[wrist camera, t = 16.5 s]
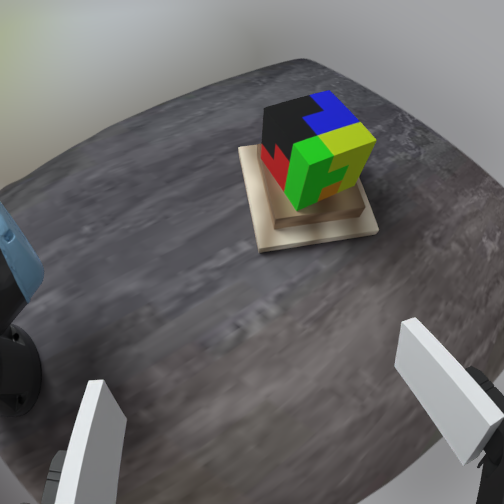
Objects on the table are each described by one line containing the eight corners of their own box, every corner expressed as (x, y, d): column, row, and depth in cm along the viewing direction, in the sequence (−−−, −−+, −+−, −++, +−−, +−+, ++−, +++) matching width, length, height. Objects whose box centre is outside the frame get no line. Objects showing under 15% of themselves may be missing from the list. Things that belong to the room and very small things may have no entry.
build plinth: (258, 252, 45) (260, 239, 40) (238, 152, 51) (238, 134, 47) (375, 234, 46) (386, 220, 42) (340, 143, 53) (346, 126, 49)
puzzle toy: (316, 138, 47) (329, 90, 38) (354, 185, 44) (376, 140, 35) (260, 158, 45) (263, 107, 36) (296, 211, 42) (309, 165, 33)
